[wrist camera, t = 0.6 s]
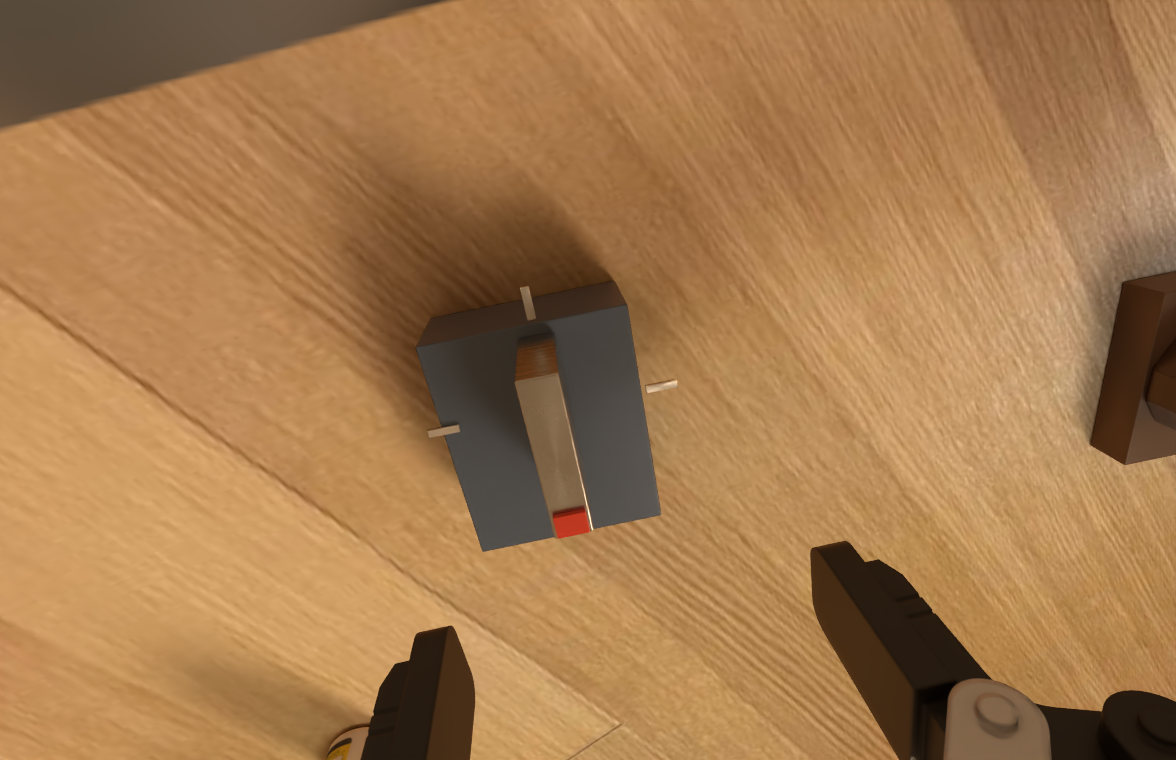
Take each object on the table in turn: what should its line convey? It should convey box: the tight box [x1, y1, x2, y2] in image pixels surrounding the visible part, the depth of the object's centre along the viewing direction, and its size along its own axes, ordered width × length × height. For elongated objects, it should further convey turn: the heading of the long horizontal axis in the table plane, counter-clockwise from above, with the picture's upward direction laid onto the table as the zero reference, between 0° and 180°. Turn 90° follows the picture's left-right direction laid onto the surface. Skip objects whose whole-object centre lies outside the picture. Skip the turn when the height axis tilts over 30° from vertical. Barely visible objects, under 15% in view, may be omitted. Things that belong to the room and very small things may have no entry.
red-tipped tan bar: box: [514, 332, 594, 539], centre depth 24 cm, size 7×2×5 cm, turn 11°
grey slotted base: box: [416, 281, 678, 552], centre depth 28 cm, size 13×11×4 cm
